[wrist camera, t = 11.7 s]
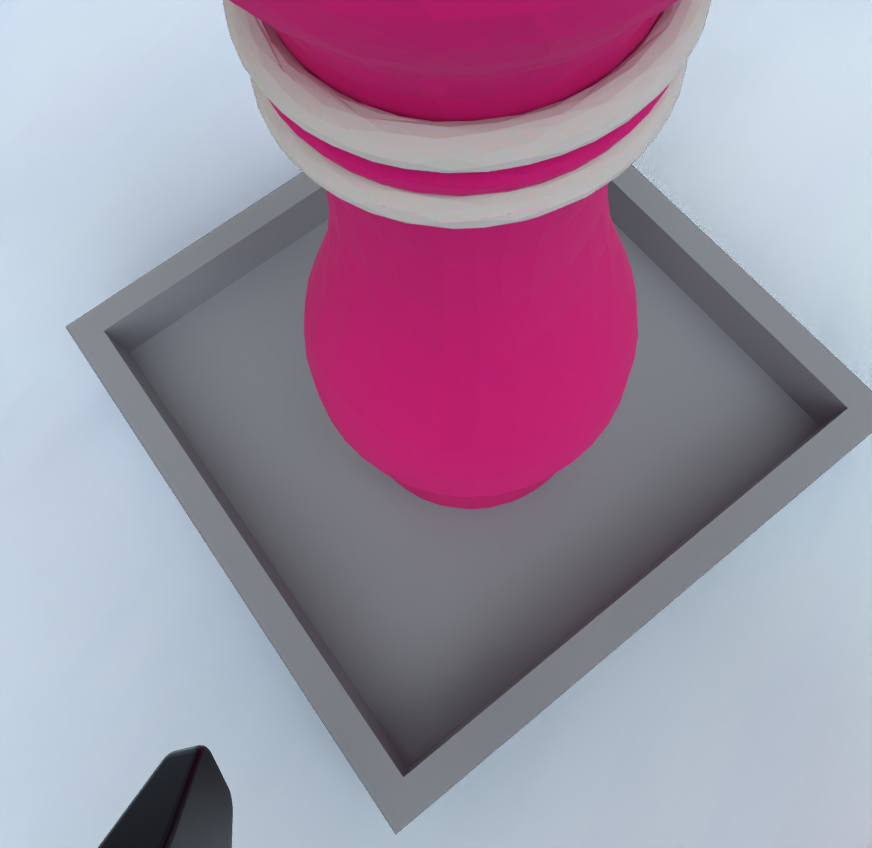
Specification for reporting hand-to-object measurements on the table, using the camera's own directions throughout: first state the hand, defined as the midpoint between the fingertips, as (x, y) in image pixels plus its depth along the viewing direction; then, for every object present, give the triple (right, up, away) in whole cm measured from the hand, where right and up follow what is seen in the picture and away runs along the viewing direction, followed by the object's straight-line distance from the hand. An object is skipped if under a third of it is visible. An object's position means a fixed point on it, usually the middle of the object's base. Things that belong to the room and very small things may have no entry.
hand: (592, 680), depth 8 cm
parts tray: (-1, +4, +13) cm, 13 cm away
